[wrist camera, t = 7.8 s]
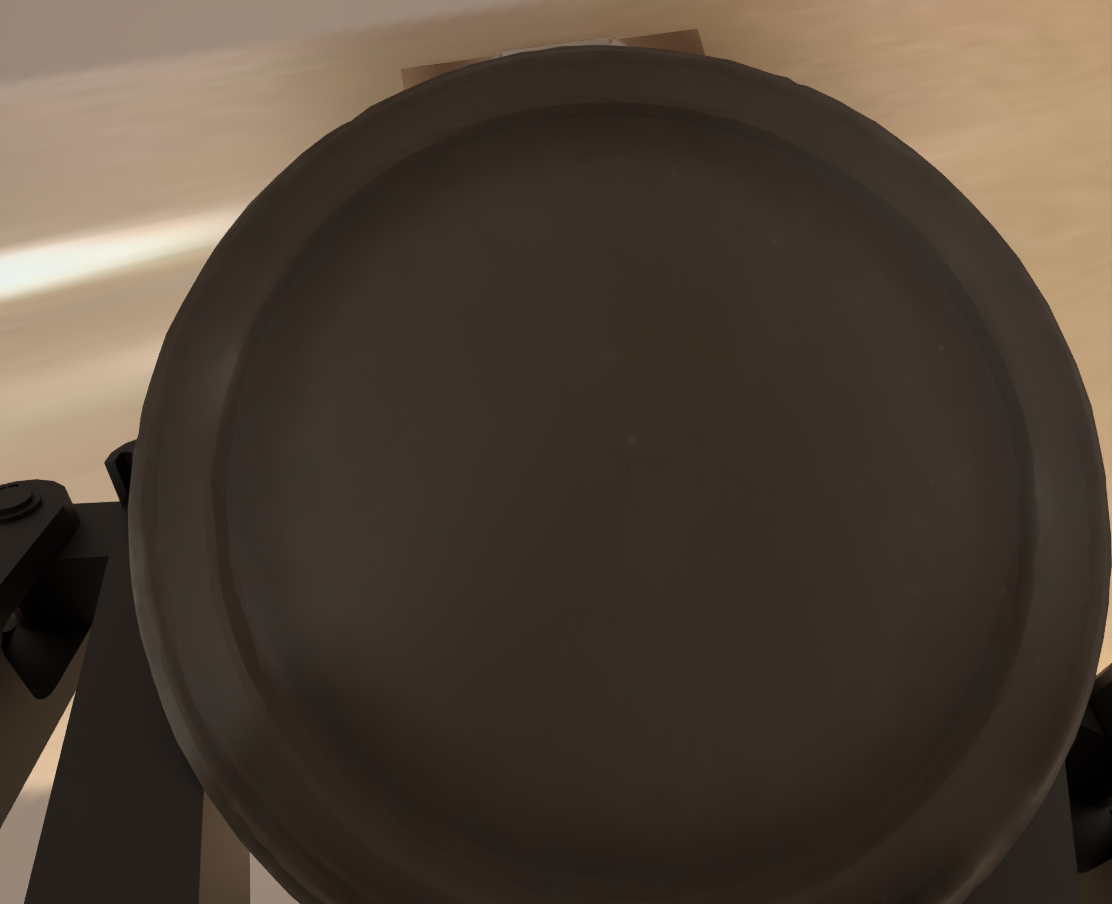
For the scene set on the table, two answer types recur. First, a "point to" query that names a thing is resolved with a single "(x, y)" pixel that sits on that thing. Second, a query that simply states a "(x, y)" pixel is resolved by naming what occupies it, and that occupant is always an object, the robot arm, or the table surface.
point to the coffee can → (619, 504)
